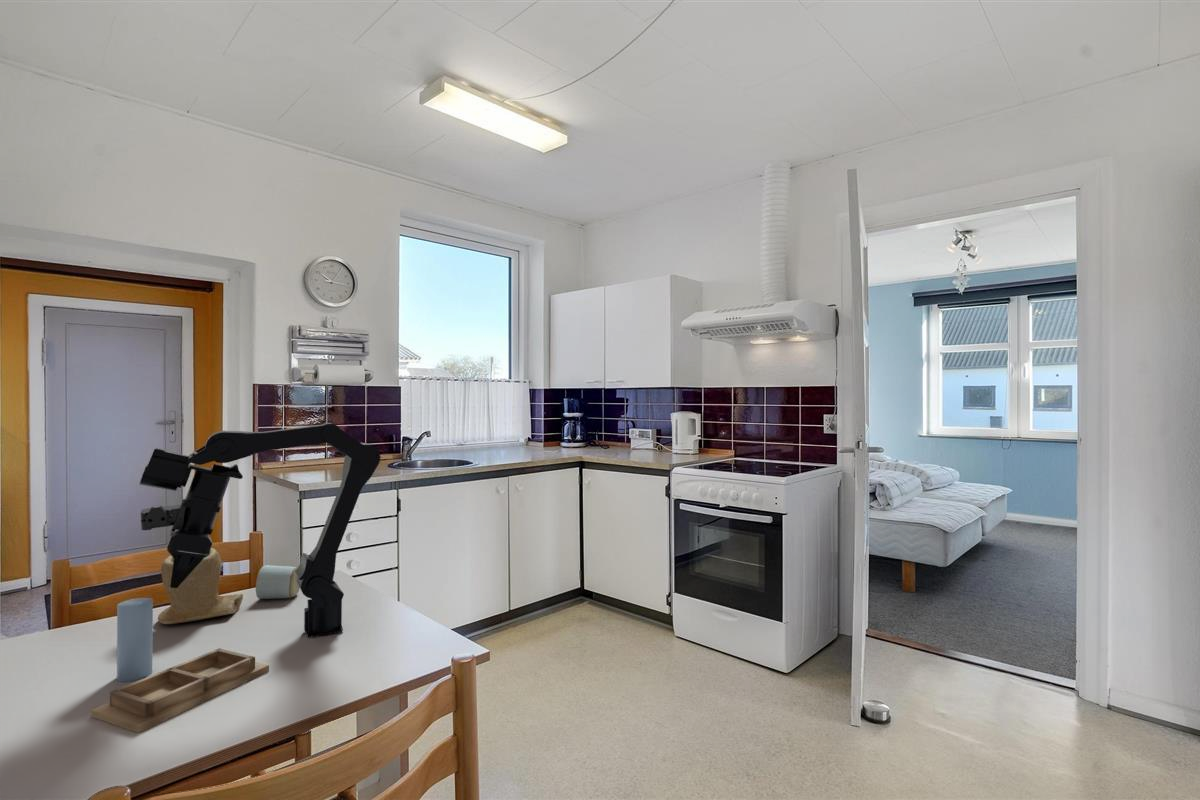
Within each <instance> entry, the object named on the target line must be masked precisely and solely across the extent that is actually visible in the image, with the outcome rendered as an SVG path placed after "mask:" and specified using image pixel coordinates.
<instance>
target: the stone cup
mask: <svg viewBox="0 0 1200 800" xmlns="http://www.w3.org/2000/svg"><path fill="white" fill-rule="evenodd" d="M173 562H174V558H173V557H172V556H171V555H169V556H167V558H165V559H164V560H163V561H162V564H161V567H160V570H161V571H160V572H161V573H160V574H161V579H162V585H163V587H164V589H165V592H166V594H167V596H168V598H169V600H170V605H169V607H166V608H165V609H164V610H162V611H161V612H160V613H159V614H158V617H157V621H158V622H159V623H161V624H162V625H174V624H181V623H187V622H195V621H201V620H206V619H211V618H217V617H222V616H229V615H231V614H232V615H233V614H235V613H236V612H237V611H238V609H239V608H240V607H241V605H242V602H243V599H244V594H243V593H238V594H237V593H236V594H231V595H220V594H219V592H218V588H219V582H220V578H221V572H222V559H221V556H220V553H219V552H218V551H217V550H216V549H215V548H213V547H211V549H210V552H209V554H207V556H206V557H205V558H204V559H203V560H202V561H201V562H200V563H199V564H198V565H197V566H196V568H195V569H194V570H193V571H192V572H191V573H190V574H189V575H188V576H187V578H186V579H185V580H184V581H183V582H182V583H181V584H180V586H179V587H178V588H171V587H170V584H171V577H172V570H173Z"/></svg>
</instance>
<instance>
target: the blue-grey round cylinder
mask: <svg viewBox="0 0 1200 800" xmlns="http://www.w3.org/2000/svg"><path fill="white" fill-rule="evenodd" d="M153 605H154V600H153V598H152V597H136V598H131V599H126V600H124V601H122V602H119V603H118V604H117V605H116V606H117V608H116V609H117V611H116V618H117V620H116V628H117V629H116V680H118V681H117V682H120V683H129V682H136V681H139V680H141V679H144V677H145V678H146V677H149V676H151V675H152V673H153V643H154V642H153V633H154V632H153V629H154V628H153V623H154V622H153V618H154V617H153V615H154V614H153V612H154V606H153ZM148 675H149V676H148Z"/></svg>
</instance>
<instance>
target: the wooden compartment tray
mask: <svg viewBox="0 0 1200 800" xmlns="http://www.w3.org/2000/svg"><path fill="white" fill-rule="evenodd" d="M269 671H270V665H269V664H267V663H264V662H259V661H256V656H253V655H250V654H249V655H248V654H245V653H244V654H243V653H241V652H240V653H239V652H236V651H231V650H228V649H223V648H217V649H215V650H212V651H209V652H207V653H204V654H201V655H199V656H196V657H194V658H192V659H189V660H186V661H183V662H182V663H179V664H177V665H174V666H172V667H169V668H166V669H164V670H162V671H160V672H159V671H158V672H156V673H154V674H150V675H149V676H147V677H145V678H142V679H139V680H135V681H133V682H132V683H129V684H126V685H124V686H122V687H118V688H116V689H114V690H112V691H110V692H109V702H107V703H104V704H102V705H99V706H97V707H95V708H92V709H91V710H90V717H91V718H93V717H94V718H93V719H96V718H97V720H99V719H100V721H102V720H103V722H105V721H106V722H105V723H108V724H112V725H115V726H117V727H121V728H123V729H126V730H130V731H133V732H136V733H141V732H143V731H145V730H147V729H149V728H151V727H154V726H155V725H158V724H160V723H162V722H164V721H166V720H168V719H171V718H173V717H174V716H177V715H179V714H181V713H183V712H185V711H187V710H189V709H191V708H193V707H195V706H198V705H200V704H202V703H204V702H206V701H209V700H211V699H212V698H214V697H216V696H219V695H221V694H223V693H224V692H227V691H230V690H231V689H233V688H236V687H238V686H240V685H242V684H244V683H247V682H248V681H250V680H252V679H254V678H257V677H259V676H261V675H263V674H265V673H268V672H269Z"/></svg>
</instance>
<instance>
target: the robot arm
mask: <svg viewBox="0 0 1200 800" xmlns="http://www.w3.org/2000/svg"><path fill="white" fill-rule="evenodd" d="M324 443H325V444H328V446H330V447H332V448H333V449H334V450H336V451H337V452H338V453H340V454H341V455H343V456H344V460H343V465H342V473H341V483H340V485H339V488H338V490H337V493H336V496H335V497H334V501H333V503H332V506H331V508H330V510H329V513H328V515H327V518H326V521H325V523H324V526H323V528H322V530H321V533H320V535H319V538H318V541H317V543H316V546H315V547H314V549H313V550H311V551H310V552H311V553H310V554H308V553H304V552H303V553H302V554H301V559H300V562H299V565H298V567H296V568H297V569H296V570H295V573H296V575H297V583H298V585H299V587H300V589H299V590H300V592H301V593H302V594H303V596H305V598H308V599H307V605H306V606H307V607H304V610H303V631H304V633H306V636H307V638H315V637H321V636H322V637H323V636H327V634H328V635H333V633H334V634H339V633H338V632H340V633H343V632H344V629H343V625H342V623H343V619H342V617H343V614H342V613H343V610H342V609H343V608H342V607H343V598H344V596H345V594H344V592H343V590H342V589H341V588H340V587H339V584H337V582H336V581H335V580H334V576H335V571H336V562H337V560H336V559H337V553H338V551H339V548H340V545H341V543H342V540H343V537H344V536H345V532H346V530H347V528H348V526H349V522H350V519H351V517H352V515H353V512H354V509H355V506H356V504H357V502H358V499H359V496H360V494H361V492H362V489H363V488H364V487H365V485H366V484H367V483H368V481H369V480H370V479H371V477H373V475H374V473H375V471H376V470H377V468H378V467H379V464H380V463H381V462H380V461H381V454H380V451H379V449H377V447H376V446H373V445H372V444H368V443H365V442H360V441H358V439H355V438H354V437H353V436H351V435H350V434H348V433H347V432H345V431H344V430H342V428H340V426H338V425H337V424H334V423H331V422H324V423H322V424H317V425H307V426H298V427H292V428H284V429H275V430H268V431H247V430H246V431H244V430H241V431H240V430H219V431H215V432H213V433H212V434H210V435H209V437H208V438H207V439H206V441H205V443H204V444H205V445H203V446H201V447H200V448H198V449H196V450H194V451H192V453H190V454H189V455H186V454H182V453H176V452H171V451H168V450H166V449H163V448H158V447H155V448H154V449H153V452H152V454H151V456H150V459H149V461H148V463H147V464H146V466H145V468H144V471H143V473H142V475H141V478H140V481H139V486H144V487H148V488H149V487H150V488H155V489H161V490H166V491H173V492H177V490H178V488H186V486H187V483H188V481H189V478H190V475H191V473H192V471H193V470H194V471H195V472H194V474H193V477H192V480H191V483H190V485H189V488H188V491H187V494H186V496H185V498H182V500H181V503H180V504H176V505H165V506H163V505H159V506H156V507H154V506H151V507H148V508H144V509H141V511H140V524H141V525H140V526H141V528H140V529H141V531H150V530H153V529H157V528H166V527H171V526H172V527H171V530H170V538H169V540H168V543H167V546H166V550H167V553H169V554H170V556H172V557H173V558H174V562H173V570H172V577H171V584H170V587H171V588H178V587H179V586H180V584H181V583H182V582H183V581H184V580H185V579H186V578H187V576H188V575H189V574H190V573H191V572H192V571H193V570H194V569H195V568H196V566H197V565H198V564H199V563H200V562H201V561H202V560H203V559H204V558H205V557H206V556H207V554H209V552H210V549H211V548H212V545H213V539H212V538H211V536H210V535H212V533H213V531H214V525H215V521H216V519H217V517H218V513H220V511H221V507H222V502H223V500H224V497H225V494H226V491H227V489H228V485H229V482H230V479H231V478H233V479H238V480H242V479H243V478H244V477H243V474H242V473H241V471H239V470H240V469H239V465H238V464H236V463H235V464H233V465H231V466H225V465H220V464H229V463H231V462H234V461H238V460H242V459H244V458H248V457H250V456H253V455H256V454H259V453H262V452H267V451H274V450H275V451H276V450H281V449H282V450H283V449H288V448H295V447H296V448H297V447H302V446H310V445H319V444H324ZM211 462H214V463H212V465H211V468H210V467H206V466H202V465H205V464H209V463H211ZM216 463H217V464H216ZM342 631H343V632H342Z"/></svg>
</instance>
